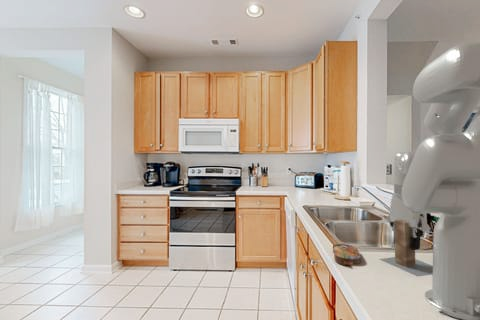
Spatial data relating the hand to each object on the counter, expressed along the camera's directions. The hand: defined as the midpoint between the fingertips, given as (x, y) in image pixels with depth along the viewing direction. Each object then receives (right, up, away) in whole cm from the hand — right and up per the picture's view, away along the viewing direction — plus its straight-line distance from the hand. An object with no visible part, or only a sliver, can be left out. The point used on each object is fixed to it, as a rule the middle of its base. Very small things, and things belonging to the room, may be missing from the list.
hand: (406, 245), depth 89 cm
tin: (-13, -6, +6) cm, 15 cm away
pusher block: (0, -6, 0) cm, 6 cm away
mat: (+1, -7, -1) cm, 7 cm away
